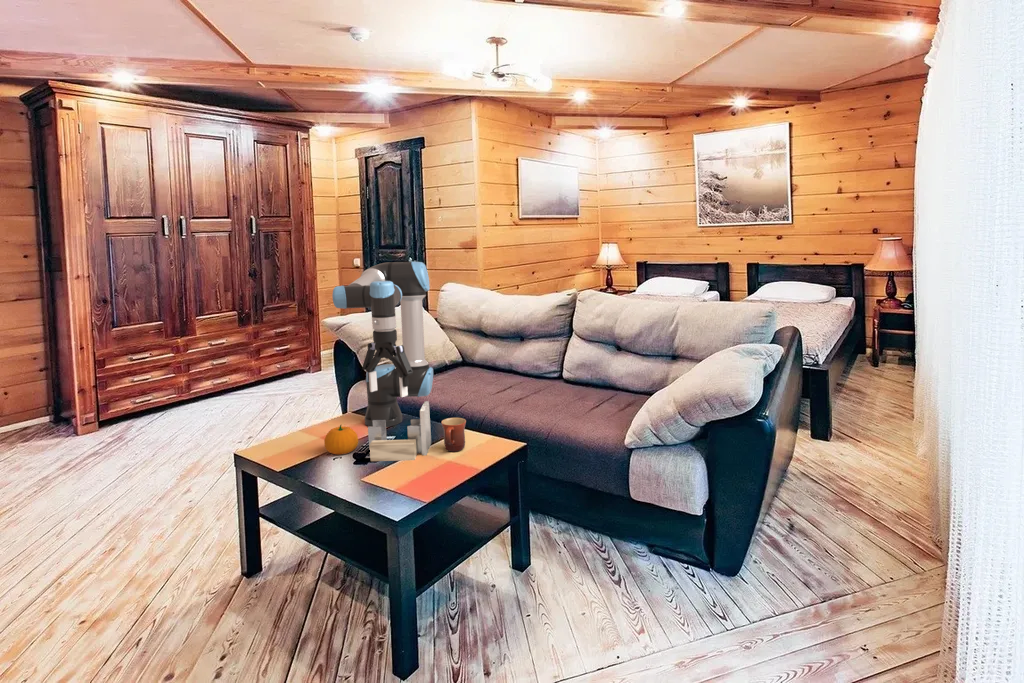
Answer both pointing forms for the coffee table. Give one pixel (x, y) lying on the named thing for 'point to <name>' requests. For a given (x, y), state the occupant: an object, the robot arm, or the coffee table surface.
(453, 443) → the mug
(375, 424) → the saddle post
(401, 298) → the robot arm
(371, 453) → the light wooden block
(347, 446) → the fruit
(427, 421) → the cup bracket
